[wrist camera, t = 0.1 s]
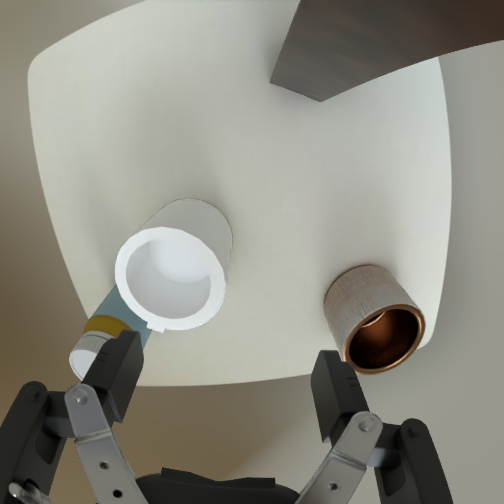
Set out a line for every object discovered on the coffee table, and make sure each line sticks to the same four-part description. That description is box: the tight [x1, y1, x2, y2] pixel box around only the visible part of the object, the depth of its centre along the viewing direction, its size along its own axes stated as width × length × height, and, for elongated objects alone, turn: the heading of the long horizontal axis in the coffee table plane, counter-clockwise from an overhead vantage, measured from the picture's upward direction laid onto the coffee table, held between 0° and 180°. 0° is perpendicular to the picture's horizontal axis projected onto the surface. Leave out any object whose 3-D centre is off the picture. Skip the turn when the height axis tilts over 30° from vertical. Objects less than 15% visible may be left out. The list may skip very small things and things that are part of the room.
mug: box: [115, 198, 233, 333], centre depth 30 cm, size 14×10×11 cm
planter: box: [324, 266, 425, 375], centre depth 33 cm, size 11×11×10 cm
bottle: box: [69, 284, 152, 380], centre depth 30 cm, size 7×7×15 cm
